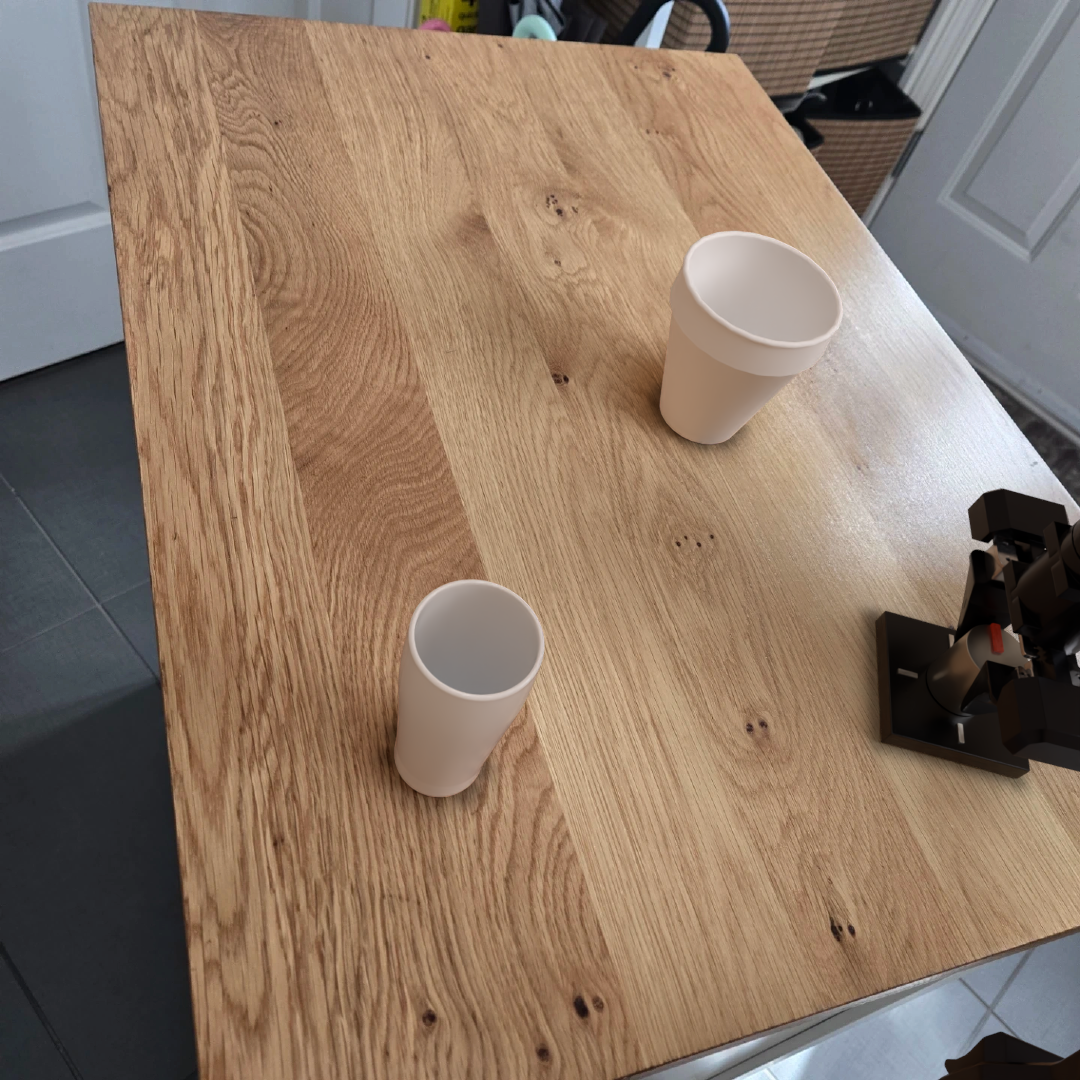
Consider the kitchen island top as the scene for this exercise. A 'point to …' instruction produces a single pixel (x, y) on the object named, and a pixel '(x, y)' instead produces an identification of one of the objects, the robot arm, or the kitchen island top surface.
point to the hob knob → (970, 663)
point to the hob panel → (931, 701)
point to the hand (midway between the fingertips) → (963, 681)
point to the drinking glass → (462, 681)
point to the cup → (741, 330)
